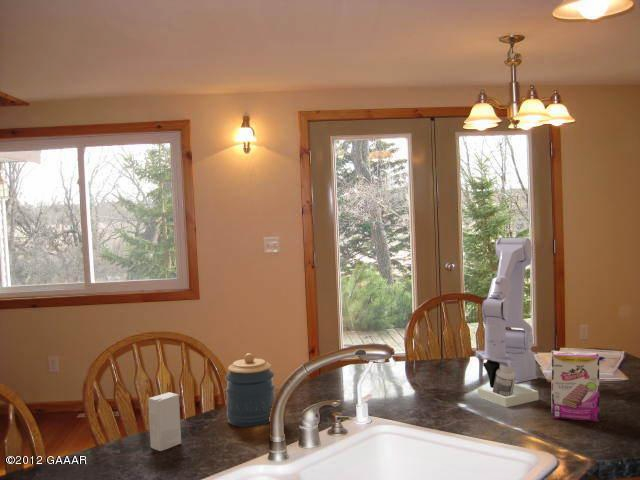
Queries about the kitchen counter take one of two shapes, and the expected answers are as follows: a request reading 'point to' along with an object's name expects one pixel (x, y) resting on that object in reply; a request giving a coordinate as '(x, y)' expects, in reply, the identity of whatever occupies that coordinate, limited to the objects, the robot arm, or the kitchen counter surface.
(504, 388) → the pill bottle
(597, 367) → the candy bar box
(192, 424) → the kitchen counter surface
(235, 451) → the kitchen counter surface
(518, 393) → the u-shaped bracket
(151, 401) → the skincare box
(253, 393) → the canister
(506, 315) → the robot arm
